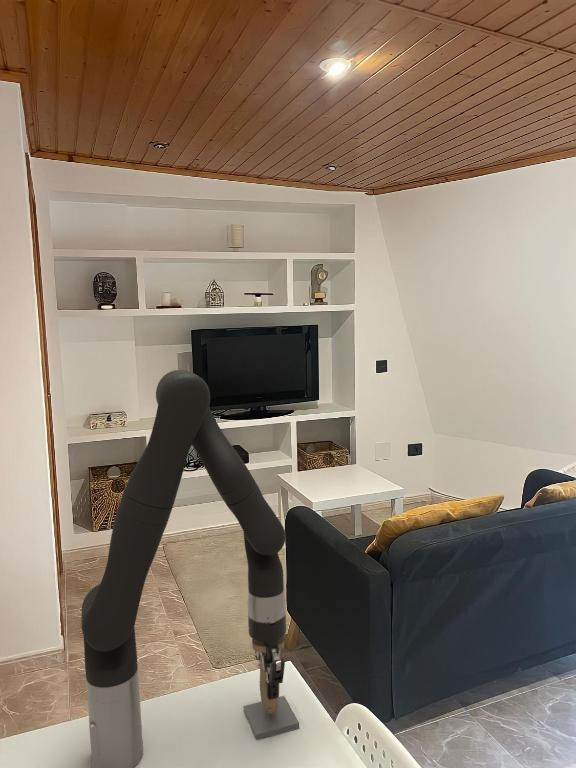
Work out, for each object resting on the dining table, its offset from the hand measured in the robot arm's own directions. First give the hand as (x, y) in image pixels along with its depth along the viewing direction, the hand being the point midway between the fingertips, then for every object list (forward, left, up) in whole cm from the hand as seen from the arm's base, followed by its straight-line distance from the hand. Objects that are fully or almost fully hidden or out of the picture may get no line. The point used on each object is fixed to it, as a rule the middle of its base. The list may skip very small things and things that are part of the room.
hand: (269, 690), depth 119 cm
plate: (0, 0, -6) cm, 6 cm away
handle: (0, 0, -4) cm, 4 cm away
